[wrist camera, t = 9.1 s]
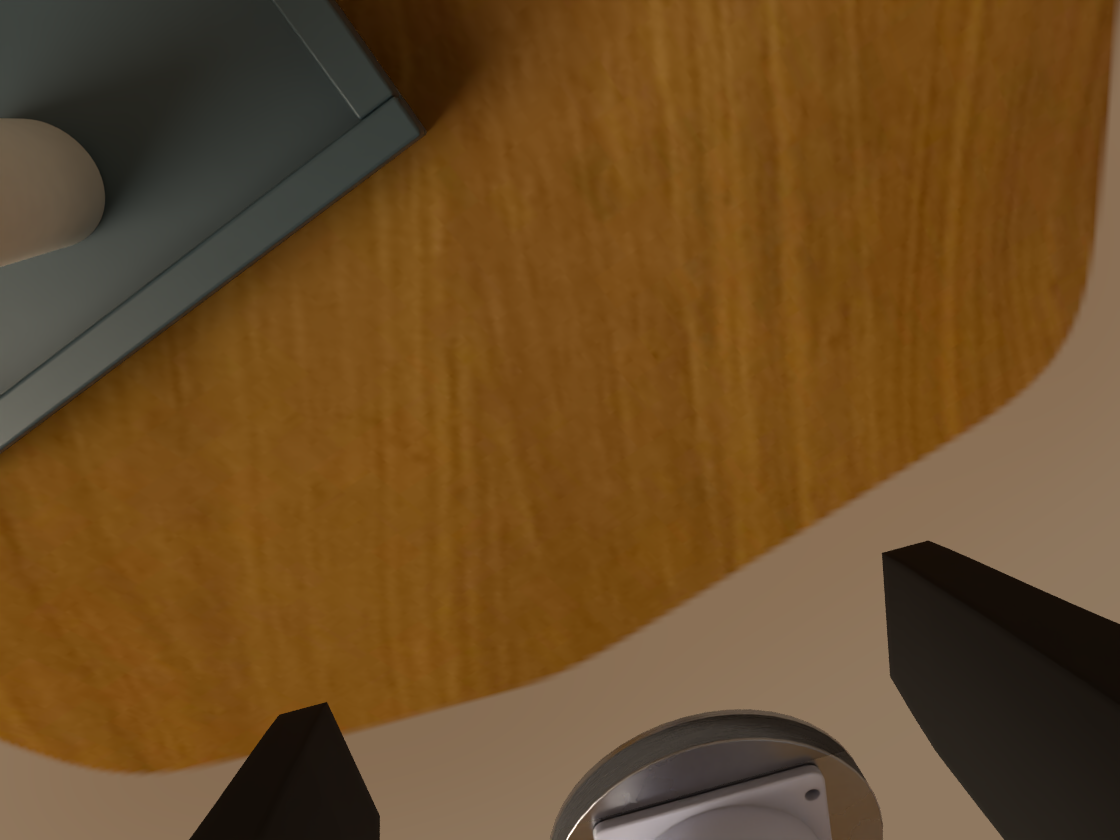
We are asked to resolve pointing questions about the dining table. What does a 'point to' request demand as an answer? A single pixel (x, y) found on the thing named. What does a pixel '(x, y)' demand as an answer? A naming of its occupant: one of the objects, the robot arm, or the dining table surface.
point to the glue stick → (44, 190)
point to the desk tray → (176, 164)
